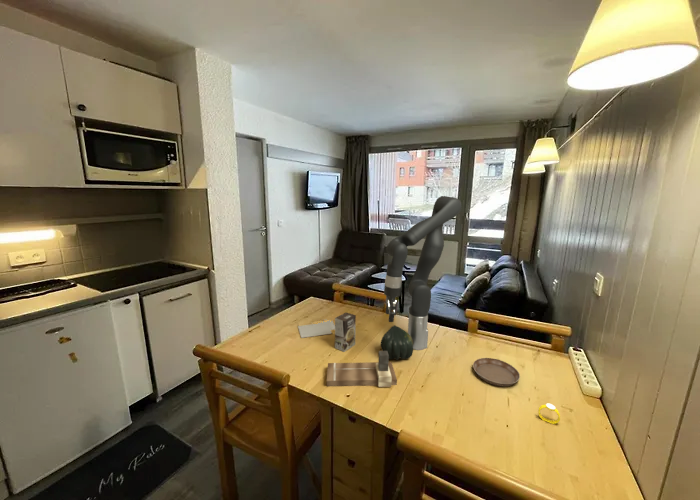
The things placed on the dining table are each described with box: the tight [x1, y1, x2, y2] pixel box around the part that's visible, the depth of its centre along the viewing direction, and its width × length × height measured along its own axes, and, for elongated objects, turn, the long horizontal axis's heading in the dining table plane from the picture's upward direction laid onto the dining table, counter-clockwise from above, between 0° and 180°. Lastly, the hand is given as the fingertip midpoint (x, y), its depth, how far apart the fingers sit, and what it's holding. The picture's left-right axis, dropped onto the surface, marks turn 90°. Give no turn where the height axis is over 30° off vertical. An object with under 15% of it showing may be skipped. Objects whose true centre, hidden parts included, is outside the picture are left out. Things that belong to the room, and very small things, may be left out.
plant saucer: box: [472, 357, 521, 387], centre depth 122 cm, size 18×18×3 cm
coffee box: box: [334, 312, 357, 353], centre depth 143 cm, size 9×6×16 cm
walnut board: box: [326, 361, 398, 387], centre depth 121 cm, size 28×12×3 cm, turn 92°
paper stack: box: [297, 320, 335, 339], centre depth 167 cm, size 23×25×1 cm
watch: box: [537, 403, 561, 425], centre depth 98 cm, size 6×3×6 cm, turn 56°
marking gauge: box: [376, 350, 392, 388], centre depth 118 cm, size 5×10×11 cm, turn 2°
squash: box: [380, 325, 414, 361], centre depth 136 cm, size 14×15×15 cm
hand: (389, 317), depth 135 cm, fingers open, 8 cm apart
